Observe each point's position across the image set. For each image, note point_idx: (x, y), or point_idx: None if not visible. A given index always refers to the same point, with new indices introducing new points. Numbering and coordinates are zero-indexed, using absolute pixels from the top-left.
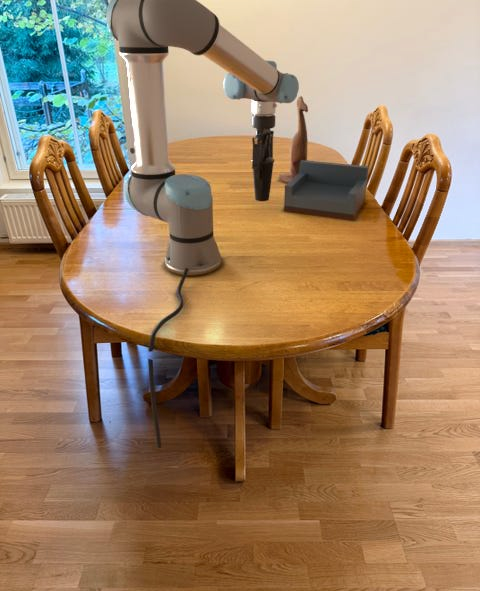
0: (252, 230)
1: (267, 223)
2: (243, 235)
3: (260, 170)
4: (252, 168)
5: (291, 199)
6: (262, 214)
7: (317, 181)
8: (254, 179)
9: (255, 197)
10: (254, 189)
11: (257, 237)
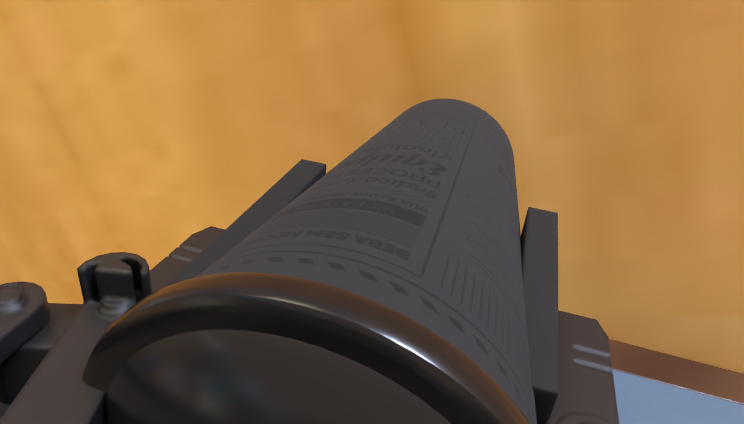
0: (79, 141)
1: (202, 210)
2: (4, 105)
3: None
4: (102, 259)
5: None
6: (332, 159)
7: None
8: (317, 181)
9: (398, 116)
10: (387, 128)
11: (24, 182)
